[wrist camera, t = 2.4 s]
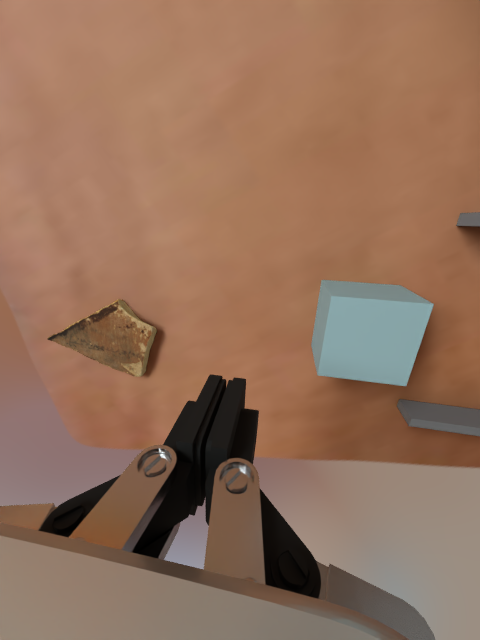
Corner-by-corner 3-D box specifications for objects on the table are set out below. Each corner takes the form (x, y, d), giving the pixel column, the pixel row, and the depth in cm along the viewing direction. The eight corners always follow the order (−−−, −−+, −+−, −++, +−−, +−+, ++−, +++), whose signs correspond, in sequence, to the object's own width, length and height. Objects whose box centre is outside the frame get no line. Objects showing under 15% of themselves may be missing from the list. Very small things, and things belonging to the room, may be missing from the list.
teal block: (321, 279, 21) (331, 295, 16) (399, 285, 20) (433, 304, 15) (311, 344, 23) (317, 375, 18) (381, 352, 22) (406, 386, 18)
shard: (58, 333, 28) (44, 340, 26) (64, 270, 25) (49, 273, 23) (147, 373, 28) (138, 382, 26) (164, 314, 25) (155, 320, 23)
